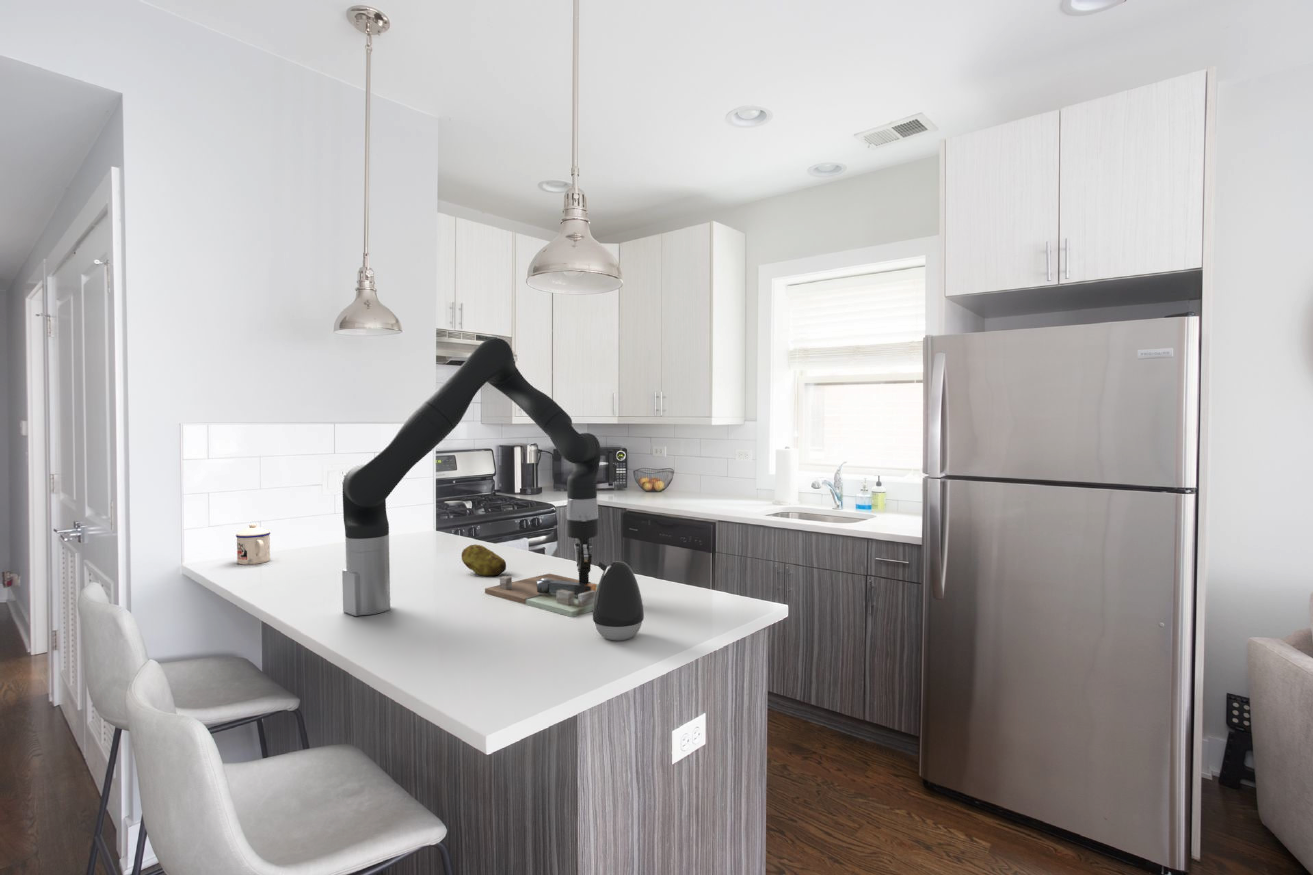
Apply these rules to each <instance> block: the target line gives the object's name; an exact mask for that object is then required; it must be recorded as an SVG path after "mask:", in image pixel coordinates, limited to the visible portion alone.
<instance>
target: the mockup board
mask: <svg viewBox="0 0 1313 875" xmlns="http://www.w3.org/2000/svg"><path fill="white" fill-rule="evenodd" d="M542 578H548V579H553V580H558V581H569V582H579V579H575V578H571V577H567V576H562V575H560V574H559V575H558V574H554V573H550V572H549V573H546V574H541V575H537V576H533V577H528V578H524V579H519V580H515V581H512V577H511V576H508V575H504V576H499V585H494V586H490V587H489V586H488V587H486V588H484V593H485V594H486V595H490V596H495V597H497V598H501V599H505V600H508V601H513V602H515V603H519V604H523V605H525V606H526V605H527V606H530V607H533V608H537V609H541V610H545V611H548V612H553V613H555V614H559V615H563V616H566V617H569V618H574V617H576V616H580V615H584V614H586V613H590V612H593V608H594V601H595V596H596V592H597V588H598V585H599V583H595V582H591V581H589V583H592V584H596V591H593V590H591V591H588V592H584V593H580V594H578V596H575V595H574V592H571V591H567V590H563V589H562V590H558V591H556V594H555V593H538V592H537V580H539V579H542Z"/></svg>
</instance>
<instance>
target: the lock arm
mask: <svg viewBox="0 0 1313 875" xmlns="http://www.w3.org/2000/svg"><path fill="white" fill-rule="evenodd" d="M592 583H593V582H591V583H579V582H569V581H558V580H553V579H548V578H542V579H539V580H537V592H538V593H555V594H556V591H558V590H562V589H563V590H567V591H571V592H574V595H575V596H578V594H580V593H584V592H588V591H591V590H593V591H596V584H597V583H595V584H592Z"/></svg>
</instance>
